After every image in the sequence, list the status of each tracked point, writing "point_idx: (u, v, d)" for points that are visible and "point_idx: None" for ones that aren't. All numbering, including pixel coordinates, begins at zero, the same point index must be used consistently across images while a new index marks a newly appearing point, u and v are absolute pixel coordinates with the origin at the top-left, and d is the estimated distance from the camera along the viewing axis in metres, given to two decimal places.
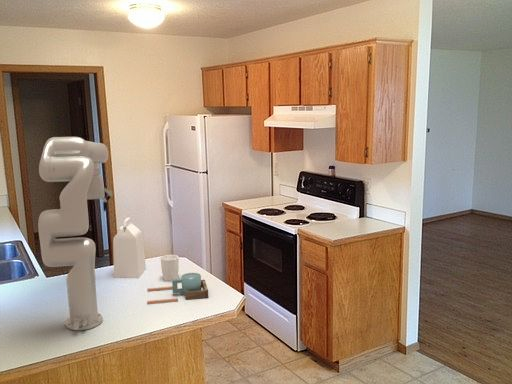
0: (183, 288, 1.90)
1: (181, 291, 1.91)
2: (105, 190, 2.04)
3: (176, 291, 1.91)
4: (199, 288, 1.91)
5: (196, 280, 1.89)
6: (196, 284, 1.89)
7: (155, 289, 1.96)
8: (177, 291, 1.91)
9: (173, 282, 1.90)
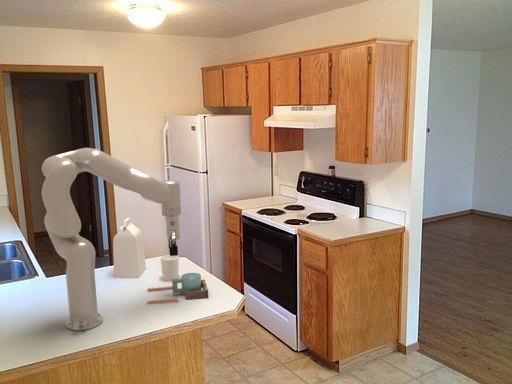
0: (183, 288, 1.90)
1: (181, 291, 1.91)
2: None
3: (176, 291, 1.91)
4: (199, 288, 1.91)
5: (196, 280, 1.89)
6: (196, 284, 1.89)
7: (155, 289, 1.96)
8: (177, 291, 1.91)
9: (173, 282, 1.90)
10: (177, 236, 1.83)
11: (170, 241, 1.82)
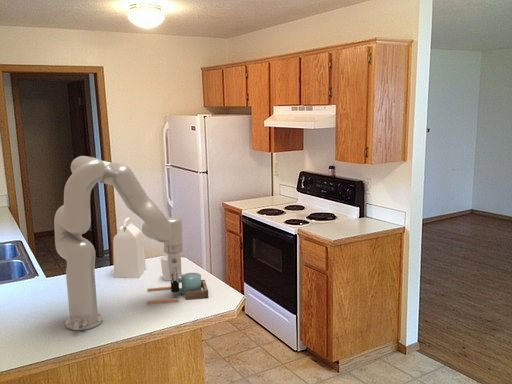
0: (183, 288, 1.90)
1: (181, 291, 1.91)
2: None
3: None
4: (199, 288, 1.91)
5: (196, 280, 1.89)
6: (196, 283, 1.89)
7: (155, 289, 1.96)
8: None
9: None
10: (179, 273, 1.86)
11: None
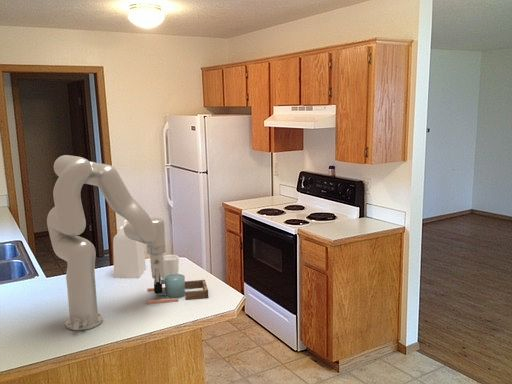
0: (166, 289, 1.89)
1: (164, 292, 1.90)
2: None
3: None
4: (182, 289, 1.90)
5: (179, 281, 1.88)
6: (179, 285, 1.88)
7: None
8: None
9: None
10: (161, 274, 1.84)
11: None
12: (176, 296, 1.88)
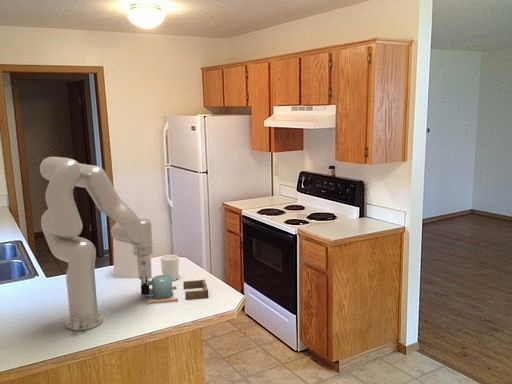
0: (153, 290, 1.88)
1: (151, 293, 1.89)
2: None
3: None
4: (170, 290, 1.89)
5: (166, 282, 1.87)
6: (166, 286, 1.87)
7: None
8: None
9: None
10: (148, 275, 1.83)
11: (141, 281, 1.85)
12: (163, 297, 1.87)
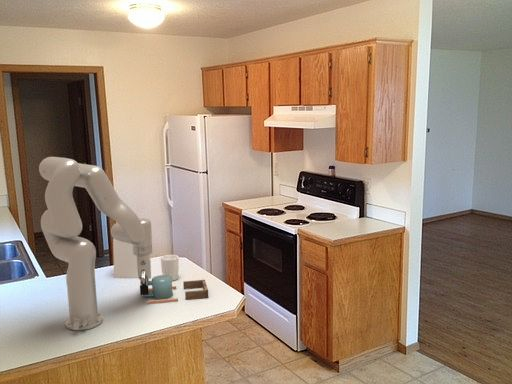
0: (153, 291, 1.88)
1: (151, 294, 1.89)
2: None
3: None
4: (170, 291, 1.89)
5: (166, 282, 1.87)
6: (166, 286, 1.87)
7: None
8: None
9: None
10: (148, 275, 1.83)
11: (140, 280, 1.83)
12: (163, 297, 1.87)
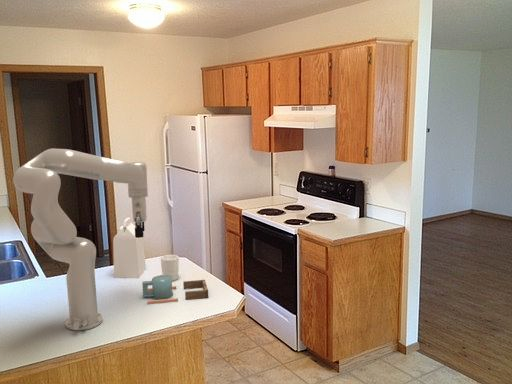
0: (153, 291, 1.88)
1: (151, 294, 1.89)
2: None
3: (146, 294, 1.88)
4: (170, 291, 1.89)
5: (166, 283, 1.87)
6: (166, 286, 1.87)
7: None
8: (147, 294, 1.89)
9: (143, 285, 1.88)
10: (142, 218, 1.84)
11: (135, 223, 1.83)
12: (163, 297, 1.87)
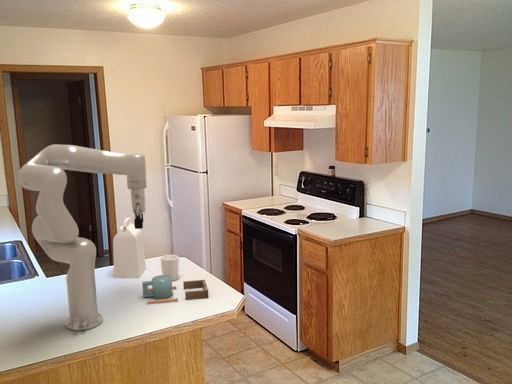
0: (153, 291, 1.88)
1: (151, 294, 1.89)
2: None
3: (146, 294, 1.88)
4: (170, 291, 1.89)
5: (166, 283, 1.87)
6: (166, 286, 1.87)
7: None
8: (147, 294, 1.89)
9: (143, 285, 1.88)
10: (142, 209, 1.86)
11: (135, 214, 1.85)
12: (163, 297, 1.87)
